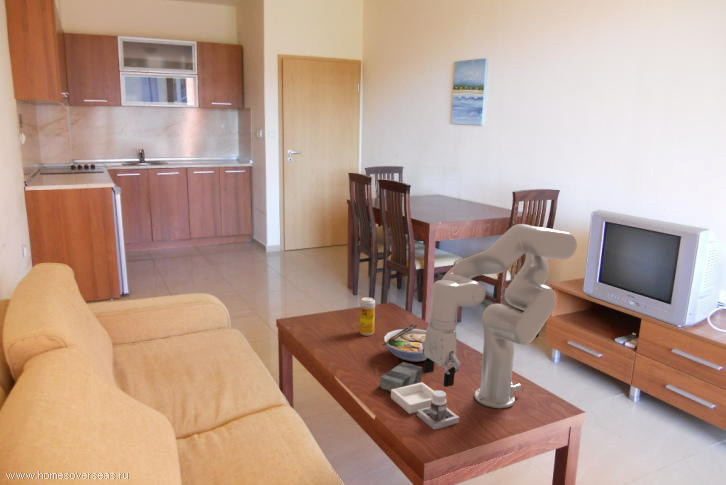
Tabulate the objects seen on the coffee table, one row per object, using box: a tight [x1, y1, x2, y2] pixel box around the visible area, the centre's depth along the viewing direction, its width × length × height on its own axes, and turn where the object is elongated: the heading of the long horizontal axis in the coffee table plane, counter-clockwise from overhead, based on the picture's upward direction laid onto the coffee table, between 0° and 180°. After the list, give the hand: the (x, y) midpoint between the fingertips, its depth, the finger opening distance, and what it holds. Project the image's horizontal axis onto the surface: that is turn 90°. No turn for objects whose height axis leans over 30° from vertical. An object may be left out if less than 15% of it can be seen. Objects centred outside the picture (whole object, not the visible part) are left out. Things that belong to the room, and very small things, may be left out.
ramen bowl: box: [382, 323, 427, 363], centre depth 207 cm, size 25×23×8 cm
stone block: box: [379, 361, 423, 394], centre depth 186 cm, size 9×14×5 cm, turn 144°
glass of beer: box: [359, 296, 376, 337], centre depth 229 cm, size 6×6×15 cm
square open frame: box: [416, 407, 460, 431], centre depth 165 cm, size 9×9×2 cm
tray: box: [390, 381, 435, 415], centre depth 174 cm, size 12×11×3 cm
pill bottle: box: [429, 389, 448, 422], centre depth 164 cm, size 5×5×8 cm
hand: (438, 378), depth 162 cm, fingers open, 9 cm apart
